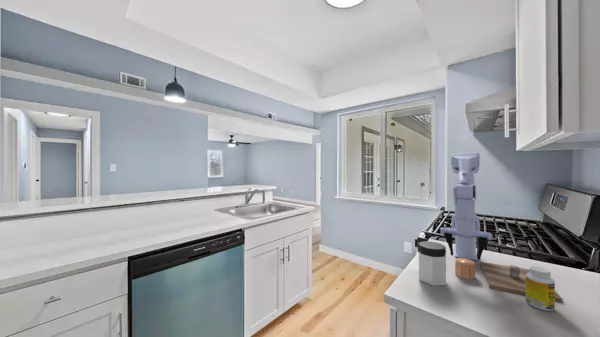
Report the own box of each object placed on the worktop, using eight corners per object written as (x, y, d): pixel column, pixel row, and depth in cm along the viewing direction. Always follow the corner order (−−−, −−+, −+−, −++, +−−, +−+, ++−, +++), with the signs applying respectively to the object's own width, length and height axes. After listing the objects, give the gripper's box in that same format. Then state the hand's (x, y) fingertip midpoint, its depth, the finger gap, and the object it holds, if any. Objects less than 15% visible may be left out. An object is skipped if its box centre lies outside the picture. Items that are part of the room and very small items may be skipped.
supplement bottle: (552, 314, 60) (552, 276, 60) (523, 304, 64) (523, 268, 64) (556, 307, 63) (557, 270, 63) (528, 297, 68) (528, 263, 67)
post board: (479, 263, 90) (479, 252, 90) (536, 273, 82) (536, 260, 82) (490, 287, 73) (490, 273, 73) (562, 302, 65) (562, 286, 65)
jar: (447, 289, 73) (447, 251, 73) (418, 283, 77) (418, 247, 76) (445, 276, 81) (444, 242, 80) (419, 271, 85) (418, 239, 84)
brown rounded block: (454, 270, 85) (454, 257, 85) (473, 273, 82) (473, 260, 82) (455, 276, 80) (455, 262, 80) (475, 280, 77) (475, 266, 77)
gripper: (440, 218, 81) (441, 256, 81) (493, 223, 74) (493, 265, 74) (440, 214, 87) (440, 250, 88) (489, 218, 80) (489, 257, 80)
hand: (464, 256), depth 81 cm, fingers open, 7 cm apart
